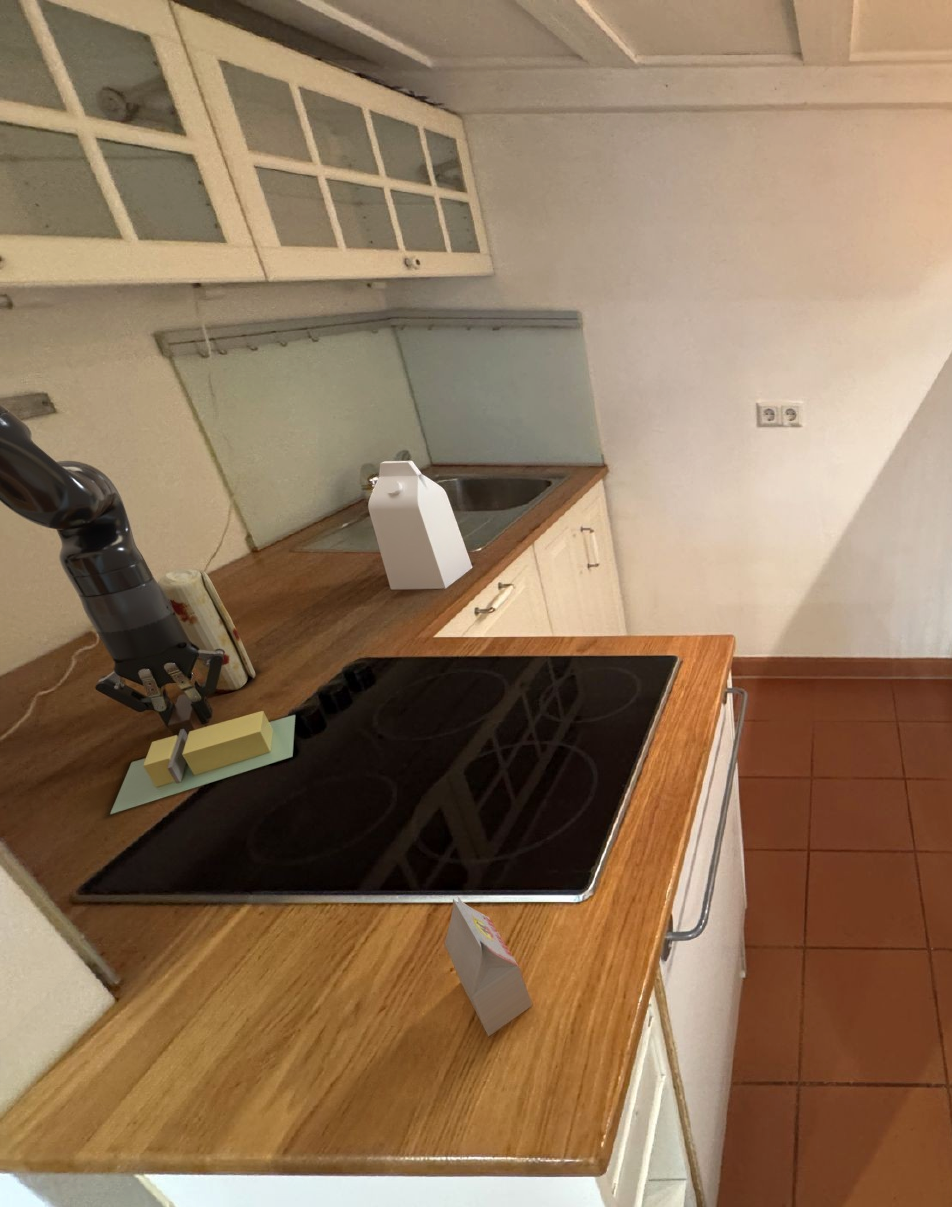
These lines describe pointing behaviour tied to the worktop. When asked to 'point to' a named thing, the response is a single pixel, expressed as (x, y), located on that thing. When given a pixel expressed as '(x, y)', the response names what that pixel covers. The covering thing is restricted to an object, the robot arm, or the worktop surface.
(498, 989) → the gable top carton
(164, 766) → the block
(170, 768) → the butter knife
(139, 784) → the butter dish
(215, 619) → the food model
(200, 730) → the butter block
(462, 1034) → the worktop surface
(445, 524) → the milk
